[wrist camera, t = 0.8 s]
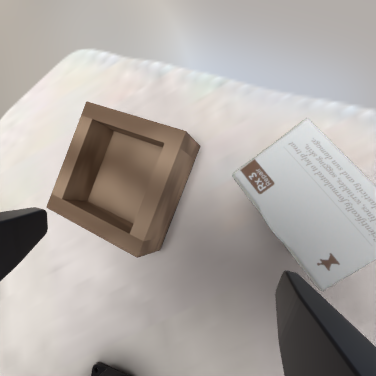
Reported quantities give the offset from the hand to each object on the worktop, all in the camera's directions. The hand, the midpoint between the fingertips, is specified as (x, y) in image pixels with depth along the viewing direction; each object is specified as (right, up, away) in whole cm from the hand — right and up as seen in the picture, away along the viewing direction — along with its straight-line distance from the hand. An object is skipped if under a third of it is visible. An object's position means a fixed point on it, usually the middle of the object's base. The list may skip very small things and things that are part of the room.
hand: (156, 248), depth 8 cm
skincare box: (+10, 0, +12) cm, 16 cm away
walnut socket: (-5, +3, +17) cm, 18 cm away
